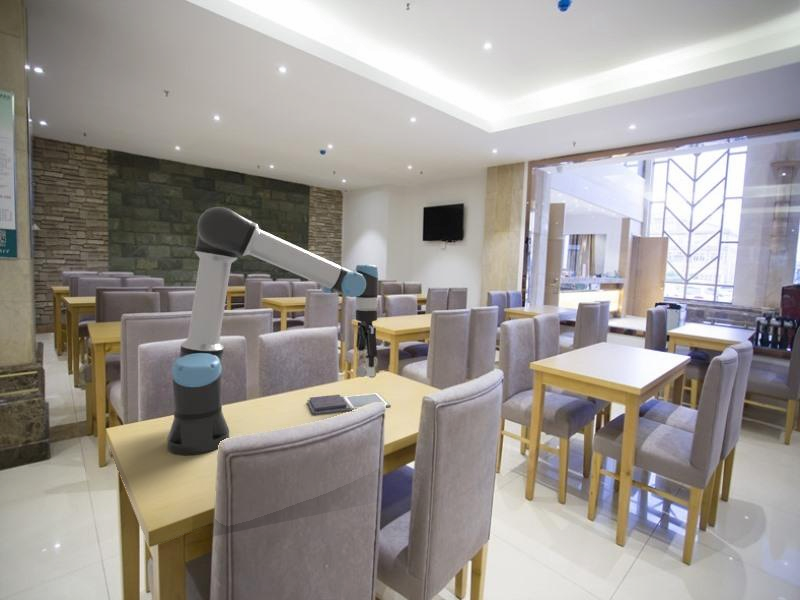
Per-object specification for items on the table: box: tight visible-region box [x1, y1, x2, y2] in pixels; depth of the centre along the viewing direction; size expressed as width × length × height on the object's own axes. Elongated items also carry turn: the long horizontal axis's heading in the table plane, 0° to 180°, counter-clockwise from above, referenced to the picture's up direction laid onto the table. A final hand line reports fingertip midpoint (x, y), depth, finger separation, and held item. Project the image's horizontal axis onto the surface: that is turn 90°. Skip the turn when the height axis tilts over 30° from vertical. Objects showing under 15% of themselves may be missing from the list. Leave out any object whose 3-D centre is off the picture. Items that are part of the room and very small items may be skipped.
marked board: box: [340, 392, 391, 411], centre depth 146 cm, size 14×14×1 cm
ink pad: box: [306, 394, 350, 415], centre depth 141 cm, size 12×12×2 cm
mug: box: [355, 352, 379, 379], centre depth 144 cm, size 8×10×10 cm
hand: (365, 371), depth 145 cm, fingers closed on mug, 10 cm apart
